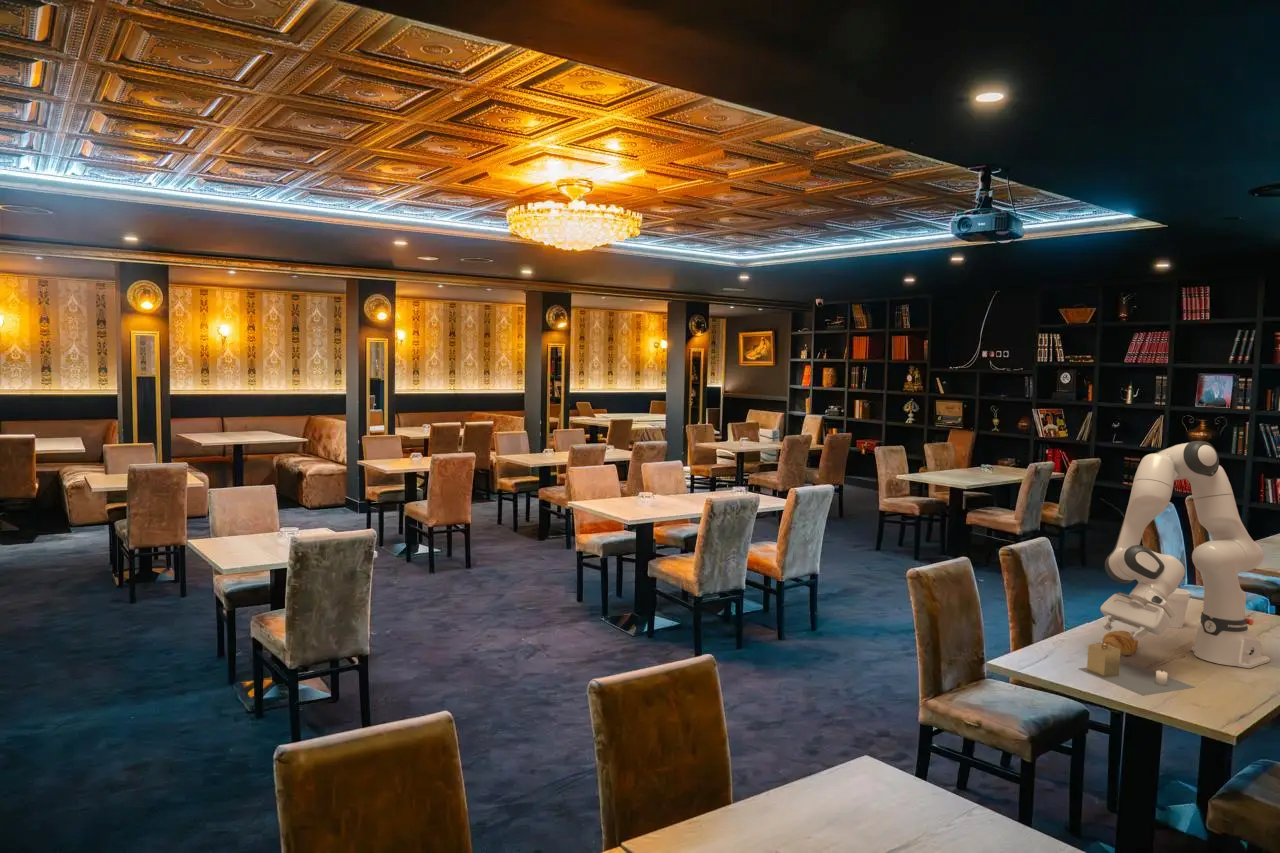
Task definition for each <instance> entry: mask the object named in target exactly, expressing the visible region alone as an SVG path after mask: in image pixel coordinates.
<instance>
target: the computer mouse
mask: <svg viewBox="0 0 1280 853" xmlns="http://www.w3.org/2000/svg"><path fill="white" fill-rule="evenodd" d="M1155 672H1156V684H1158V685H1162V686H1166V685H1167V677H1168V672H1167V671H1164V670H1163V669H1161V670H1156V671H1155Z"/></svg>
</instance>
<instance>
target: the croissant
mask: <svg viewBox="0 0 1280 853" xmlns="http://www.w3.org/2000/svg"><path fill="white" fill-rule="evenodd" d="M1130 634H1131V633H1130V632H1129V631H1125V630H1114V631H1110V632H1107V633H1106V634H1104V636H1103V637H1102V642H1101V643H1107V644H1108V645H1110V646H1113V647H1116V648H1119V649H1121V651H1120V656H1122V657H1123V656H1124V657H1126V656H1127V655H1128V656H1132V655H1133V654H1135V653H1136V651H1137V648H1138V644H1139V639H1138V640H1137V641H1136V640H1133V639H1131V638H1130ZM1128 656H1127V657H1128Z"/></svg>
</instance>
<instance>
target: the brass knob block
mask: <svg viewBox="0 0 1280 853" xmlns="http://www.w3.org/2000/svg"><path fill="white" fill-rule="evenodd" d="M1087 648H1088V650H1087V664H1086V667H1087V671H1090V672H1092V673H1094V674H1097V675H1099V676H1102V677H1110V676H1117V675H1119V666H1120V663H1121V655H1120V651H1121V649H1119V648H1116V647H1113V646H1110V645H1108V644H1107V643H1102V642H1101V643H1092V644H1090V643H1089V644H1088V647H1087Z"/></svg>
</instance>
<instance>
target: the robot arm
mask: <svg viewBox="0 0 1280 853" xmlns="http://www.w3.org/2000/svg"><path fill="white" fill-rule="evenodd" d="M1219 459H1220V458H1219V455H1218V452H1217V450H1216V448H1215V447H1214V446H1213V445H1212V444H1211V443H1209V442H1207V441H1204V440H1195V441H1193V440H1192V441H1190V442H1185V443H1180V444H1179V443H1178V444H1175V445H1172V446H1170V447H1168V448H1165V449H1160V450H1158V451H1157V452H1155V453H1149V454H1146V455H1144V456H1143V457H1142V458H1141V461H1140V463H1139V464H1138V466H1137V470H1136V472H1135V475H1134V477H1133V482H1132V486H1131V492H1130V495H1129V500H1128V505H1127V506H1126V507H1127V508H1126V512H1125V515H1124V519H1123V521H1122V523H1121V528H1120V530H1119V534H1118V537H1117V539H1116V543H1115V546H1114V548H1113V550H1112V551H1111V552H1110V553H1109V555H1107V557H1106V559H1105V561H1104V570H1105V572H1106V574H1107V575H1108V577H1110V579H1111V580H1112V581H1115V582H1117V583H1120V584H1129V583H1133V581H1135V580H1136V581H1137V584H1136V585H1135V587H1134V588H1133V589H1132V590H1131V592H1130V593H1124V592H1117V593H1114V594H1112V595H1111V596H1109V597H1108V599H1106V600H1105V601H1104V602H1103V604H1102V605H1101V606H1100V612H1101V613H1102V614H1103V616H1104V617H1105V623H1104V624H1103V628H1104V630H1106V631H1110V632H1111V631H1112V628H1114V626H1113V625H1112V623H1113V622H1115V621H1117V622H1120V623H1123V624H1126V625H1128V626H1131V627H1134V628H1136V629H1137V628H1138V630H1136V631H1135V632H1134V631H1132V632H1131V633H1130V638H1131V639H1133V640H1136V641H1137V640H1138V641H1139V638H1141V637H1143V636H1145V635H1147V634H1148V633H1151V634H1154V635H1156V636H1158V635H1163V634H1164V632H1165V631H1166V630H1167V629H1168V628H1169V627H1168V626H1169V624H1170V622H1171V619H1170V618H1173V617H1174V616H1175V613H1174V611H1173V609H1172V608H1171V607H1170V605H1169V604H1168V603H1167V602H1166V601H1167V598H1168V596H1169V595H1170V594H1171V593H1173V592H1174V591H1175V590H1176V588H1178V587H1179V585H1180V584H1181V582H1182V580H1183V579H1184V576H1185V574H1186V569H1185V567H1184V565H1183V563H1182V561H1180V560H1179V559H1178V558H1177V557H1175V556H1173V555H1172V554H1167V553H1166V554H1164V553H1163V554H1162V553H1160V552H1159V553H1158V552H1155V551H1153V550H1151V549H1150V548H1148V547H1146V546H1144V545H1141V541H1142V538H1143V534H1144V533H1145V530H1146V528H1147V527H1148V525H1150V524H1151V522H1152V521H1153V520H1155V519H1156V518H1157V517H1158V516H1160V514H1162V513H1163V512H1164V511H1165V510H1166V509H1167V507H1168V505H1169V503H1170V501H1171V498H1172V495H1173V490H1174V483H1175V481H1177V480H1178V481H1179V480H1184V479H1186V480H1187V481H1188V482H1189V484H1190V489H1191V495H1192V499H1193V504H1194V507H1195V508H1194V509H1195V512H1196V516H1197V521H1198V523H1199V524H1200V526H1202V527H1203V528H1205V529H1206V531H1207V532H1208V533H1209V536H1210V537H1211V540H1208V541H1205V542H1203V543H1202V544H1199V545H1197V546H1196V547H1195V548H1194V549H1193V550H1192V553H1191V559H1192V560H1191V561H1192V563H1193V565H1194V567H1195V569H1197V570H1198V571H1199V573H1200V576H1201V580H1202V583H1203V605H1202V607H1203V608H1202V611H1201V615H1200V617H1199V618H1200V624H1201V625H1199V626H1198V627H1197V630H1196V635H1195V641H1194V645H1192V646H1191V651H1192V652H1193V655H1194V656H1195V657H1197V658H1199V659H1201V660H1203V661H1207V662H1210V663H1215V664H1218V665H1224V666H1231V667H1233V666H1234V667H1239V668H1244V669H1252V668H1255V667H1258V666H1260V665H1264V664H1266V663H1269V662H1271V658H1270V657H1269V656H1267V655H1265V654H1262V642H1261V641H1260V640H1259V639H1258V638H1257V637H1256V636H1255V635H1254V634H1253V633H1252V632H1250V630H1249V628H1248V626H1253V624H1254V619H1252V618H1249V617H1245V614H1246V603H1247V602H1246V601H1247V595H1246V593H1245V591H1244V590H1243V589H1242V588H1241V584H1240V580H1239V574H1240V573H1241V574H1242V573H1248V572H1249V571H1253V570H1254V569H1256V568H1258V567H1259V566H1260V565H1261V564H1262V563H1263V560H1264V551H1263V548H1262V547H1261V546H1260V545H1259V543H1257V542H1256V541H1255V540H1253V538H1252V537H1251V536H1250V534H1249V533H1248V530H1247V529H1246V527H1245V526H1244V523H1243V522H1242V519H1241V516H1240V514H1239V510H1238V507H1237V502H1236V499H1235V495H1234V492H1233V489H1232V485H1231V483H1230V481H1229V477H1228V475H1227V473H1226V471H1225V469H1224V468H1223V467H1222V465H1220V460H1219Z"/></svg>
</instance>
